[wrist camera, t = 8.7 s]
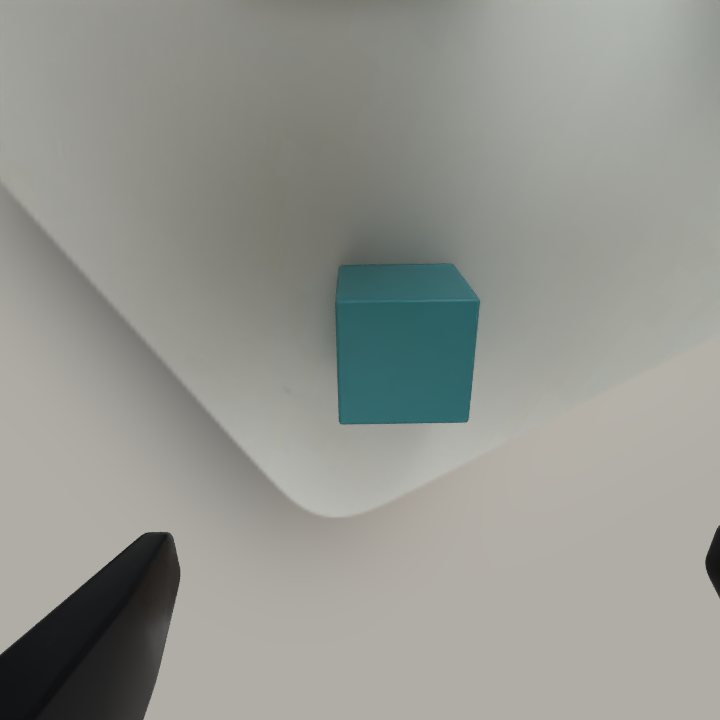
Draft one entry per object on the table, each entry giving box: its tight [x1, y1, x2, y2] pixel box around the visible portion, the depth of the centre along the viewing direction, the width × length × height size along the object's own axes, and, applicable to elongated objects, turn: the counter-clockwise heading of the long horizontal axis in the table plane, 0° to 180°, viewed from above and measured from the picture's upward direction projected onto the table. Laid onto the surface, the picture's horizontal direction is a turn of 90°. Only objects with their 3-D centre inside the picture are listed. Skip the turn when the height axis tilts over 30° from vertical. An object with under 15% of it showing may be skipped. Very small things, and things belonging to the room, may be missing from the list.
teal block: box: [335, 264, 480, 424], centre depth 16 cm, size 4×4×4 cm
